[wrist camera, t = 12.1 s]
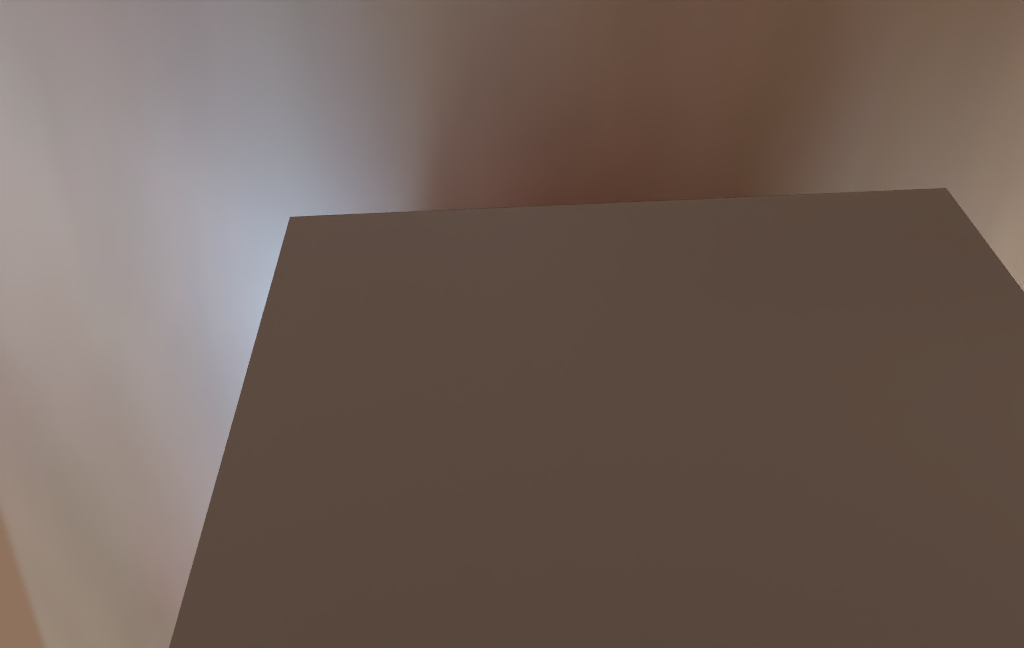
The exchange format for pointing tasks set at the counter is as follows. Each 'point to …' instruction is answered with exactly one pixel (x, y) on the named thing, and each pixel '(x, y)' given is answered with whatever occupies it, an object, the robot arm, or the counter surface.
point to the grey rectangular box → (626, 432)
